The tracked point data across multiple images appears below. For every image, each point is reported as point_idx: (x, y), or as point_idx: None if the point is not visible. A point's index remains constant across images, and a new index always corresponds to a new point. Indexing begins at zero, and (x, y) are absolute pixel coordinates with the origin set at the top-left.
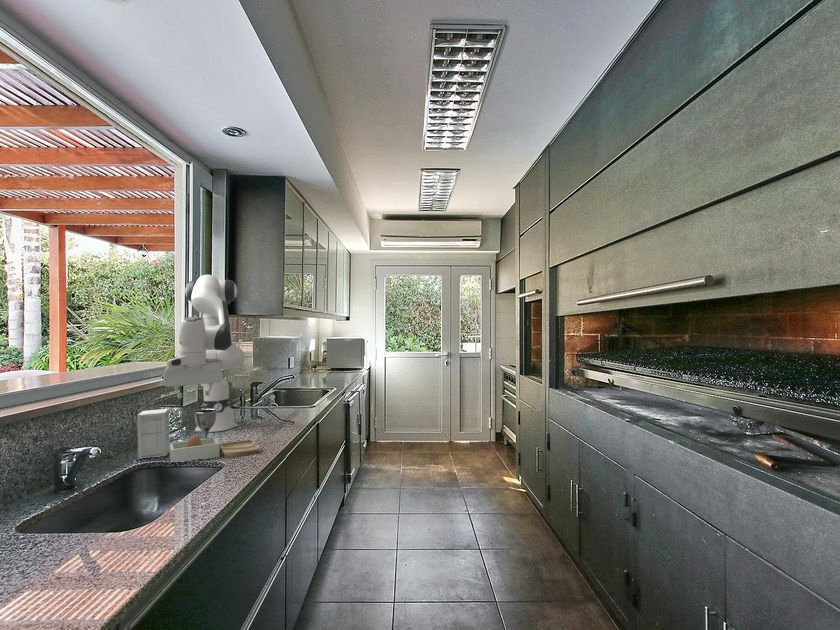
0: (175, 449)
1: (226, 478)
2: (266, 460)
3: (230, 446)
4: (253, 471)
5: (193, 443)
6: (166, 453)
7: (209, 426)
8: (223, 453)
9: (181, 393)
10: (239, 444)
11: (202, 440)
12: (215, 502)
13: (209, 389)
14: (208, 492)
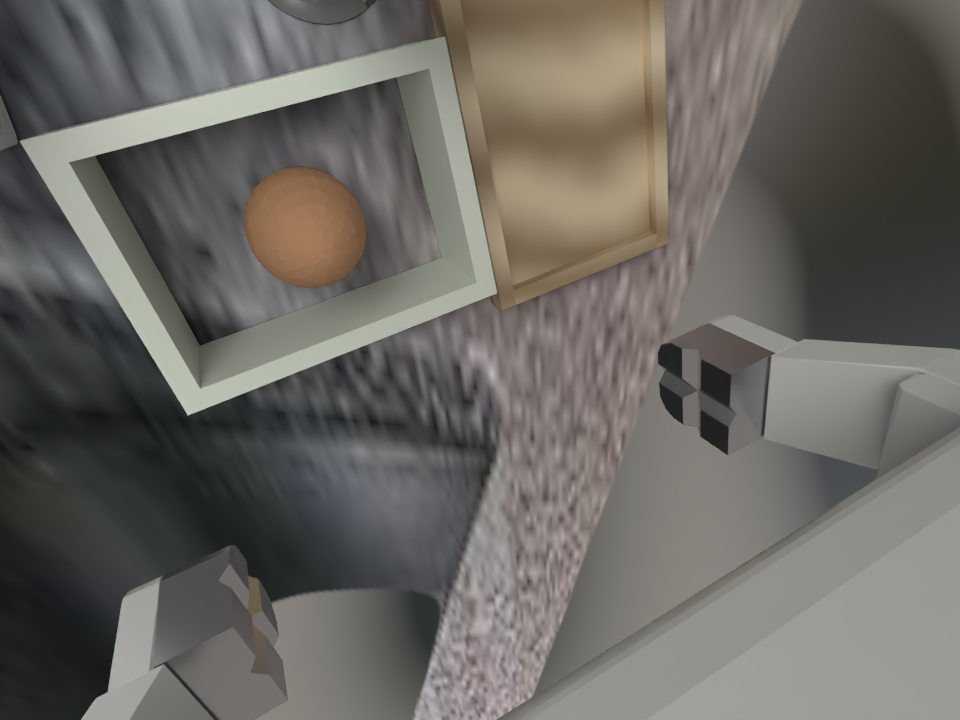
0: (221, 401)
1: (517, 567)
2: (652, 376)
3: (513, 50)
4: (598, 502)
5: (321, 286)
6: (5, 123)
7: None
8: None
9: (277, 699)
10: (569, 9)
11: (341, 89)
12: None
13: (810, 444)
14: (477, 670)
